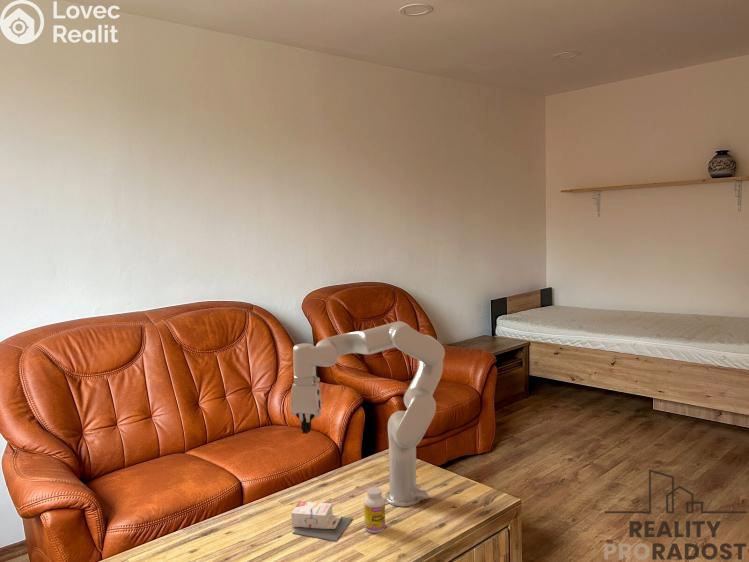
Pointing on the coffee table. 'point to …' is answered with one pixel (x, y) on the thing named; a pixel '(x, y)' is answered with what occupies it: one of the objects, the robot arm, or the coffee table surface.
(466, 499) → the coffee table surface
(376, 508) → the supplement bottle
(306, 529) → the mat
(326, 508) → the ink cartridge box
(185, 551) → the coffee table surface
